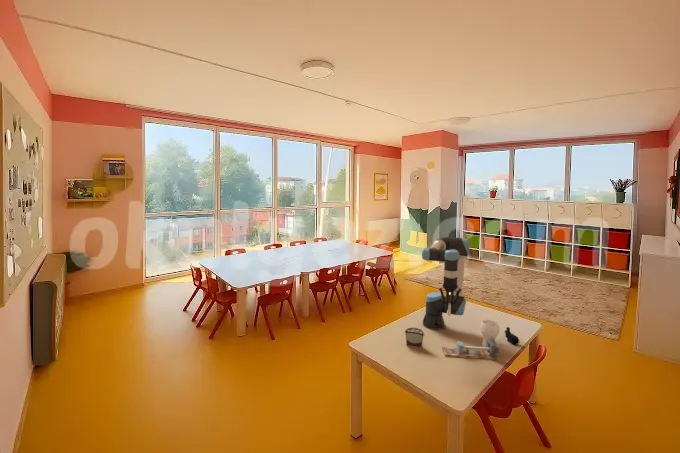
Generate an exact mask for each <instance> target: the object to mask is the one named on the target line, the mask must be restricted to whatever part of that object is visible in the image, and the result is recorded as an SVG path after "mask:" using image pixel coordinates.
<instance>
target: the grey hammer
mask: <svg viewBox="0 0 680 453" xmlns="http://www.w3.org/2000/svg"><path fill="white" fill-rule="evenodd" d="M456 348H457V350H458V353H462V354H463V349H467V354H468V355H469V353H468V352H469V350H484V351H490V347H484V346H471V345H464V344H463V341H461V340H460V341H458V340H457V341H456Z"/></svg>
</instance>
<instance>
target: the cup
mask: <svg viewBox="0 0 680 453" xmlns="http://www.w3.org/2000/svg"><path fill="white" fill-rule="evenodd" d="M480 331H481V334H482V337H483V338H482V339H483V340H482V342H481V345H482V347H486V343H487V339H494V340H495V341H496V339H497V337H498V336H499V334H500V324H499V323H498V322H497V321H495V320H491V319H484V320H482V321H481V324H480Z"/></svg>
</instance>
